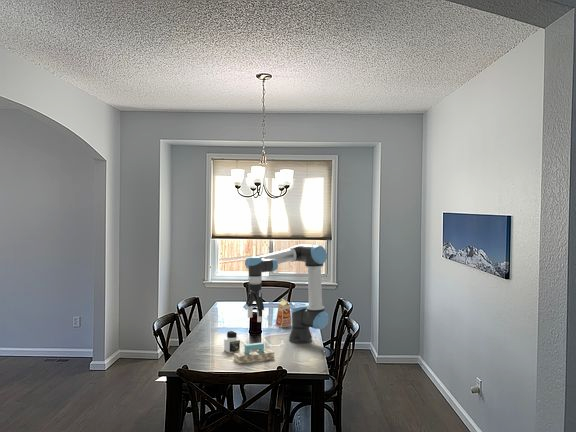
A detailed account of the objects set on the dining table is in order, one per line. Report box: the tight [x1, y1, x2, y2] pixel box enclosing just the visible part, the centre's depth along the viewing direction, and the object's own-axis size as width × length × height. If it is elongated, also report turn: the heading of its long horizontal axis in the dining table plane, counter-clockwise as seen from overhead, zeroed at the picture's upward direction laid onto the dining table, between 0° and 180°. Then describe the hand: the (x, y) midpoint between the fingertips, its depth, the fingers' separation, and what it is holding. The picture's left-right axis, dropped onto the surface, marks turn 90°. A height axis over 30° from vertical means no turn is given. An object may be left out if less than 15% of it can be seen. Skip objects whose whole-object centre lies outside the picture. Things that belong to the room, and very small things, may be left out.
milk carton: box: [274, 298, 292, 328], centre depth 406 cm, size 9×9×20 cm
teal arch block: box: [244, 342, 265, 355], centre depth 315 cm, size 11×3×8 cm, turn 117°
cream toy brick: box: [233, 348, 275, 364], centre depth 315 cm, size 22×8×4 cm, turn 117°
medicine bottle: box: [223, 330, 241, 354], centre depth 333 cm, size 7×7×12 cm
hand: (254, 319), depth 317 cm, fingers open, 13 cm apart
